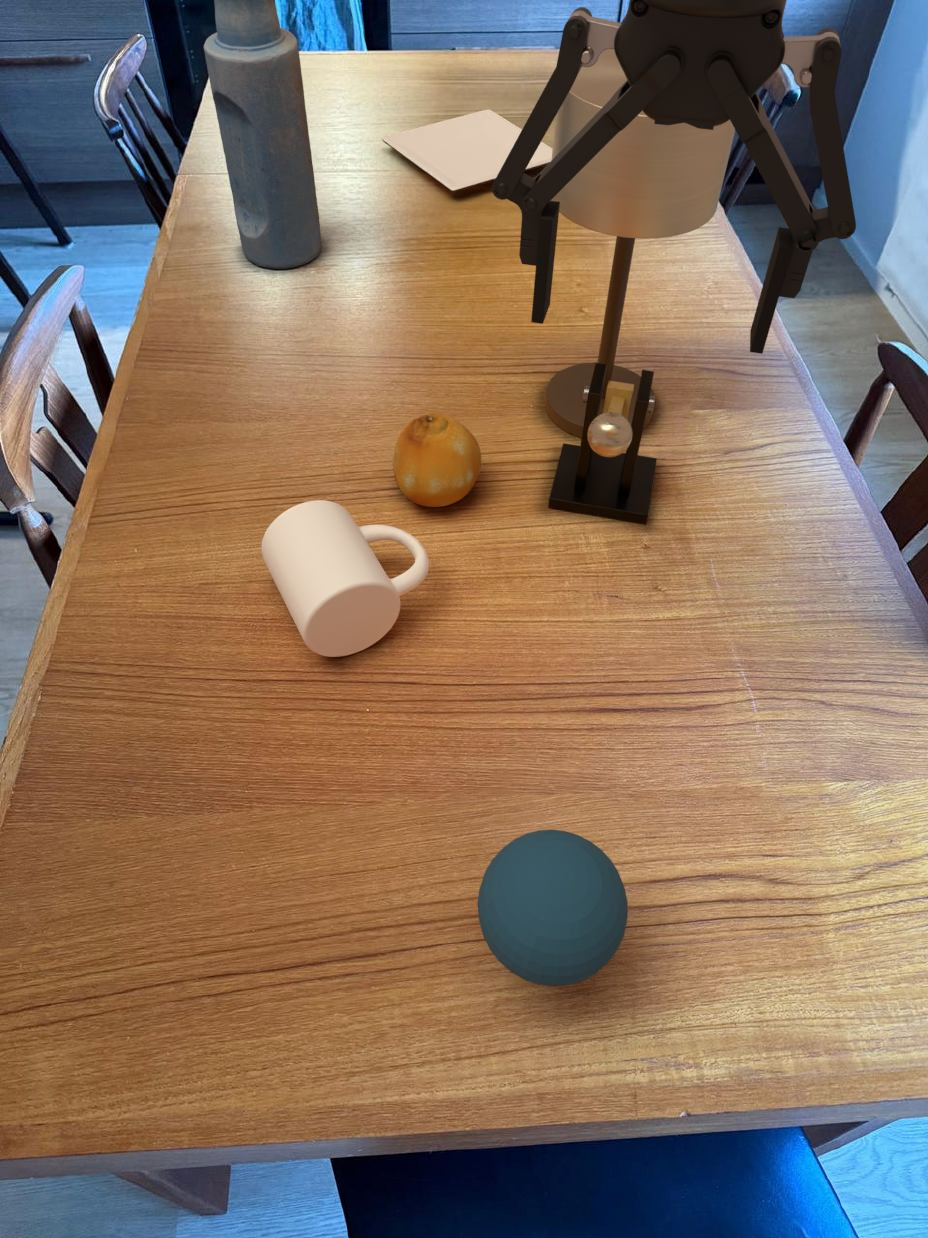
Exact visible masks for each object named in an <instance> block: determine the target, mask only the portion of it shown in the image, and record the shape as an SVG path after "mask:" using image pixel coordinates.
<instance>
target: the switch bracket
mask: <svg viewBox="0 0 928 1238" xmlns="http://www.w3.org/2000/svg"><path fill="white" fill-rule="evenodd" d="M594 363H595V367H594V371H593V375H592V379H591V383H590V387H589V386H585V387H584V392H583V398H582V403H587V404H586V411H585V418H584V425H583V431H582V438H580V445H577V444H571V443H565V442H563V444H562V446H561V450H560V454H559V459H558V461H557V466H556V470H555V474H554V478H553V482H552V486H551V490H550V494H549V497H548V505H547V508H548V509H553V510H559V511H563V512H564V511H565V512H569V513H577V514H582V515H588V516H592V517H593V516H594V517H598V518H599V517H600V518H604V519H605V518H606V519H611V520H615V521H616V520H617V521H623V522H629V523H634V524H639V525H645V526H646V525H647V523H648V519H649V514H650V513H649V512H650V507H651V502H652V500H651V499H652V495H653V487H654V481H655V475H656V474H655V473H656V468H657V462H658V460H657V459H658V458H657V457H652V456H646V455H640V454H639V451H640V446H641V441H642V437H643V432H644V429H645V428H644V423H645V418H646V414H647V413H652V412H653V413H654V411H653V407H654V408H655V406H654V402H655V403H656V395H655V396H650V393H651V388H652V386H653V381H654V380H653V379H654V374H655V371H654V370H648V369H642V370H641V374H640V376H641V379H640V384H639V389H638V394H637V399H636V404H635V409H634V414H633V419H632V424H631V428H632V440H631V443H630V445H629V447H628V448H627V449H626V450H625V452H623V453H622V454H620V455H618V456H616V457H603V456H600V455H598V454H597V453H595V452H594V451H593V450H592V448H591V447H590V445H589V442H588V436H587V434H588V429H589V426H590V424H591V422H592V421H593V420H594V419H595V418H596V417H597V416H599V411H600V405H601V399H602V392H603V386H604V380H605V374H606V368H607V364H601V363H597V362H594ZM643 428H644V429H643Z"/></svg>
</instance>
